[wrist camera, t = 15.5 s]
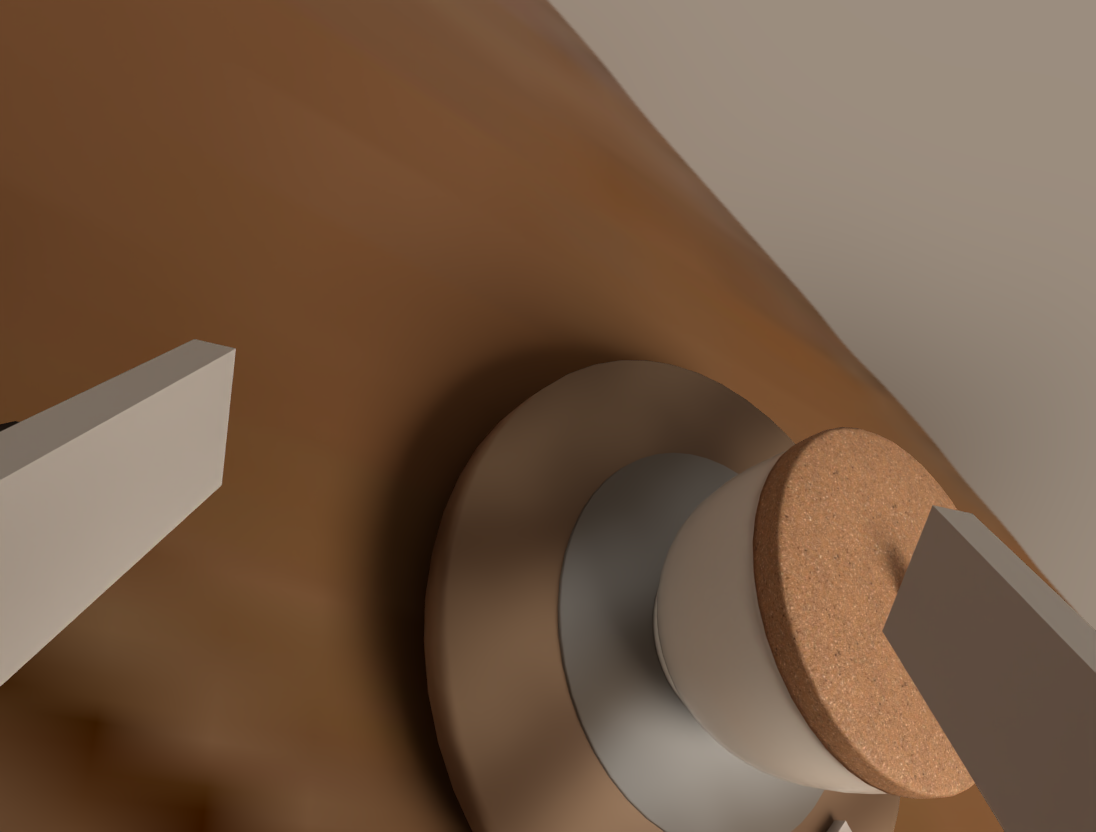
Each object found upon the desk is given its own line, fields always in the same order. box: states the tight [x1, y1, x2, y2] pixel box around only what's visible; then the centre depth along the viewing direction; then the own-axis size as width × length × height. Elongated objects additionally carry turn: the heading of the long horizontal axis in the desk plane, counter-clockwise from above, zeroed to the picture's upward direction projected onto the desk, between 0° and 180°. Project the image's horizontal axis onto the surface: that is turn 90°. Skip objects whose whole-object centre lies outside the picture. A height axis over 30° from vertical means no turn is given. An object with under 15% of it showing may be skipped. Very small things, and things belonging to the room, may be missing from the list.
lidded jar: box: [653, 427, 975, 798], centre depth 27 cm, size 11×11×9 cm
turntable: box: [424, 360, 900, 832], centre depth 31 cm, size 22×22×2 cm
